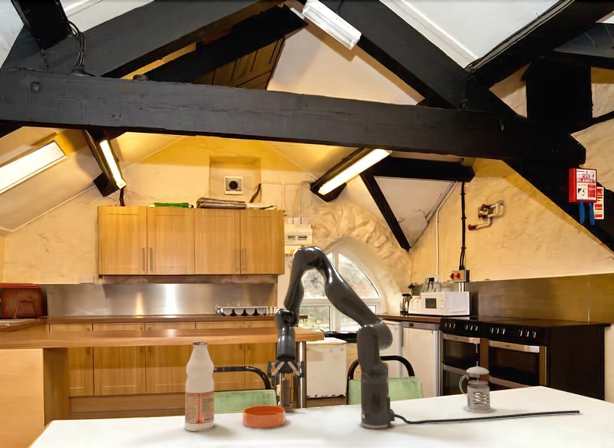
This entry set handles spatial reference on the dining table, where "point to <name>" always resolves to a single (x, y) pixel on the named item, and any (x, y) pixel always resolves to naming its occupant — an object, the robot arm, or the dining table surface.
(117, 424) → the dining table surface
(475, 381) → the french press
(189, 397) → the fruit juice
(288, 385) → the pestle
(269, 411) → the bowl
